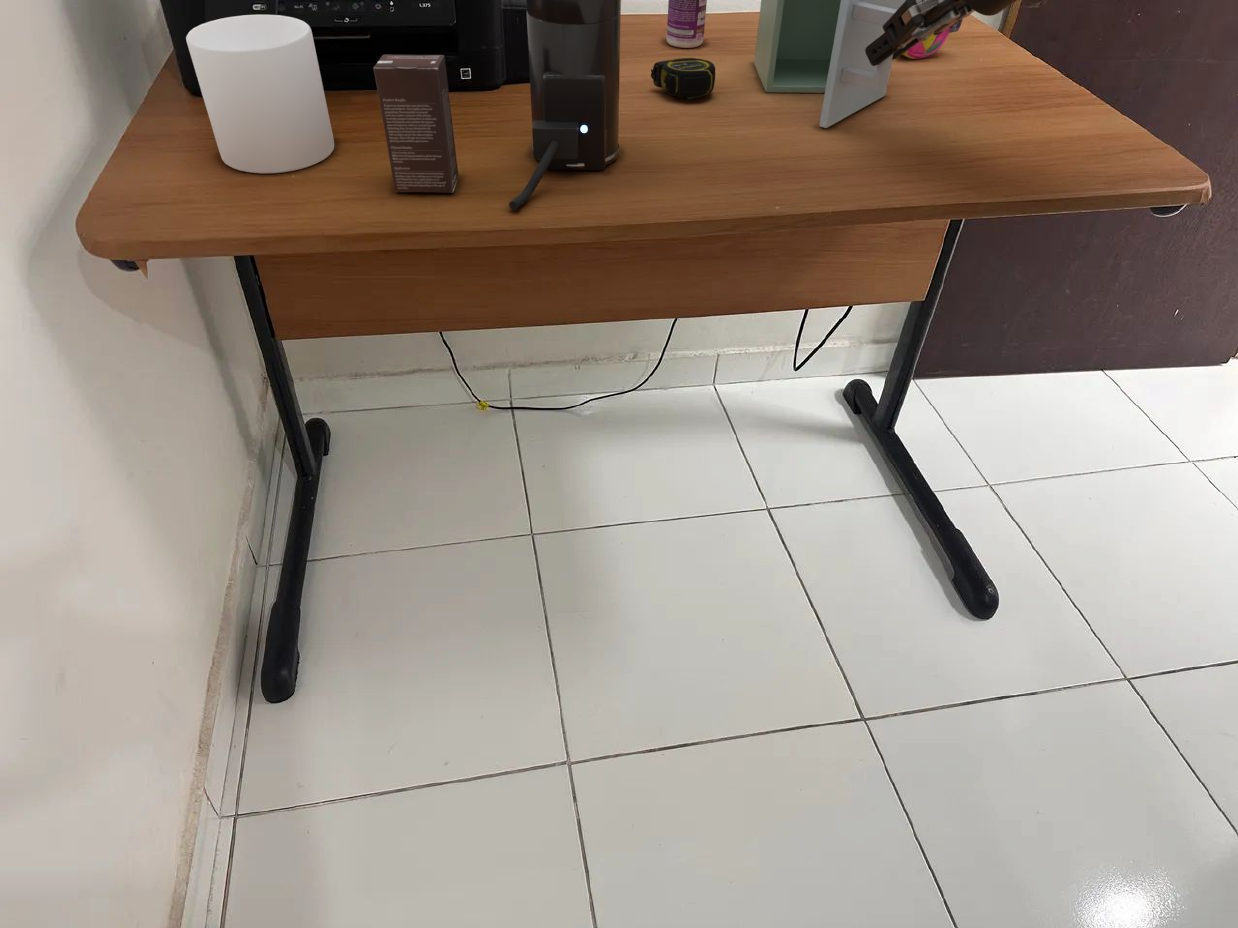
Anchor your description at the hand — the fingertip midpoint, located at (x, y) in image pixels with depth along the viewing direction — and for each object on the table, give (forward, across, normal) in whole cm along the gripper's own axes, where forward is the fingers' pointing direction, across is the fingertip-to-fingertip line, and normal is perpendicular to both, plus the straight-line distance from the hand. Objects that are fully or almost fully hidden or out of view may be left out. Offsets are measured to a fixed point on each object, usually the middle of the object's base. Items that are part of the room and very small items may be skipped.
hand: (878, 54), depth 95 cm
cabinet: (+16, -10, -5) cm, 20 cm away
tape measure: (+22, +8, -9) cm, 25 cm away
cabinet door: (+7, -5, +4) cm, 10 cm away
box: (+20, +47, -8) cm, 51 cm away
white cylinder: (+32, +54, -20) cm, 66 cm away
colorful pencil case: (+20, -31, -8) cm, 37 cm away
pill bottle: (+32, -7, -19) cm, 38 cm away
